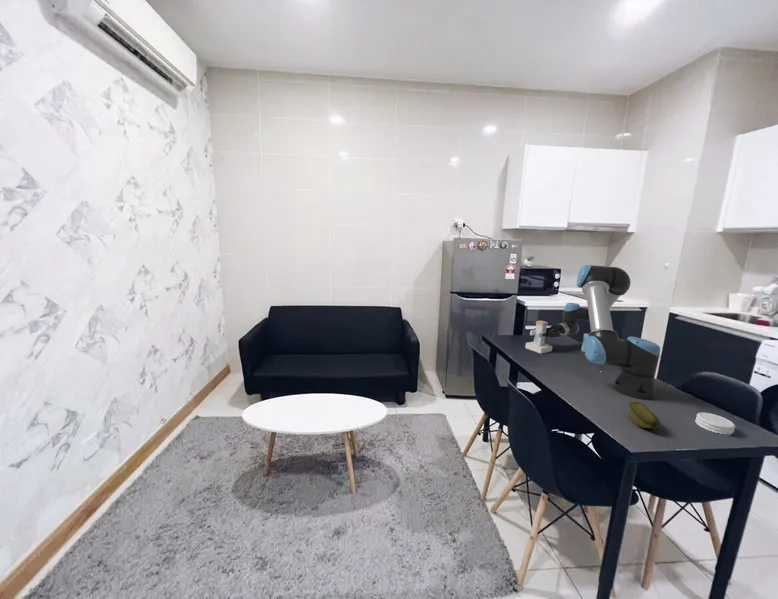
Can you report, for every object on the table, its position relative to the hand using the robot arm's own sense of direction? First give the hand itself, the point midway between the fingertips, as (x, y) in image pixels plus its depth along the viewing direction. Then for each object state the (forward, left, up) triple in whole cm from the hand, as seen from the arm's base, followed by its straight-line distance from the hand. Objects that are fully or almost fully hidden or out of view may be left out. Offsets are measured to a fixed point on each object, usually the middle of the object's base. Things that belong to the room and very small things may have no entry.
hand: (534, 334), depth 190 cm
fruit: (-67, +29, -11) cm, 74 cm away
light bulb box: (-16, -32, -11) cm, 38 cm away
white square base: (0, -5, -11) cm, 12 cm away
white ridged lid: (-80, +8, -11) cm, 81 cm away
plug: (0, -5, -10) cm, 11 cm away
